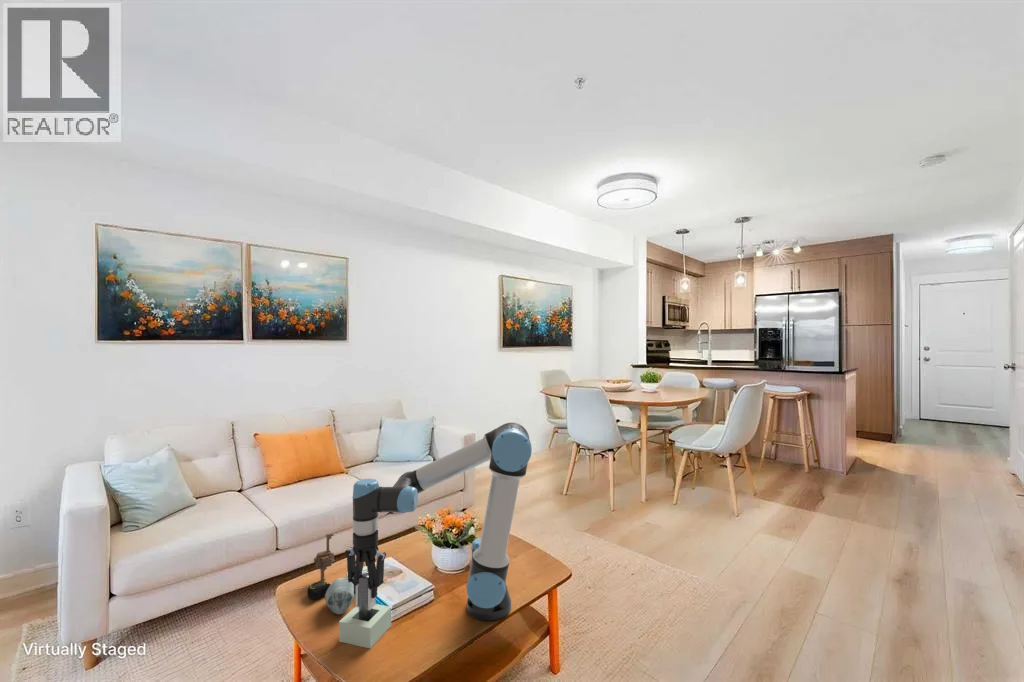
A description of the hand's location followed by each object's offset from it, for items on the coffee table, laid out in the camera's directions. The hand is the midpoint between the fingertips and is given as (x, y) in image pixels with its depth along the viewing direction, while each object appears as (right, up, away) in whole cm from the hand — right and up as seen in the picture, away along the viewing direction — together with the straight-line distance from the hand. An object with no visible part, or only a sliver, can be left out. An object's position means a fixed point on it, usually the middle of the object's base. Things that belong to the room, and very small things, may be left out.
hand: (365, 605), depth 137 cm
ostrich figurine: (-29, -9, +26) cm, 40 cm away
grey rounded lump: (-12, -9, +11) cm, 19 cm away
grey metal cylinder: (0, -6, 0) cm, 6 cm away
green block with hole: (0, -9, 0) cm, 9 cm away
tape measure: (-22, -9, +17) cm, 29 cm away
